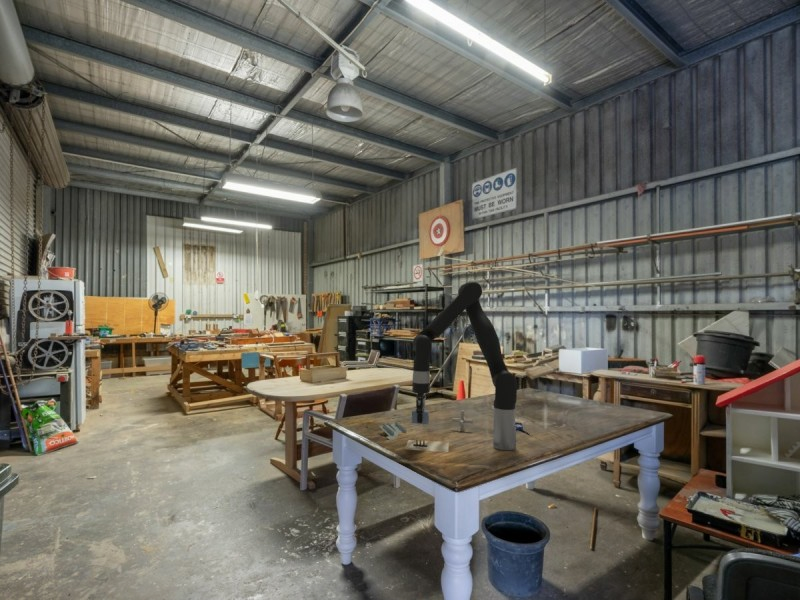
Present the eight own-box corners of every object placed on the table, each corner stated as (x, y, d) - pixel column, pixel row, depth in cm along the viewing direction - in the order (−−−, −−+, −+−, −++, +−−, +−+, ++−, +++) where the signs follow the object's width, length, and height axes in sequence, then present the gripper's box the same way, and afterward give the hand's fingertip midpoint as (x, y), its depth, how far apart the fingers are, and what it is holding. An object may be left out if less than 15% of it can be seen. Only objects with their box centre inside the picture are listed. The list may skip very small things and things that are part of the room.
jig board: (448, 445, 176) (449, 436, 176) (448, 455, 163) (448, 445, 163) (408, 442, 179) (408, 434, 179) (404, 452, 166) (404, 443, 166)
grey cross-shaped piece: (454, 427, 205) (454, 407, 205) (473, 429, 202) (473, 409, 202) (450, 432, 195) (450, 412, 196) (471, 434, 192) (471, 413, 192)
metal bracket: (375, 422, 191) (400, 418, 200) (373, 433, 192) (398, 428, 201) (391, 438, 180) (417, 432, 189) (389, 449, 181) (415, 443, 190)
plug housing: (428, 421, 173) (429, 410, 173) (427, 424, 168) (428, 412, 168) (412, 420, 174) (413, 409, 174) (411, 423, 169) (411, 411, 170)
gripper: (428, 384, 164) (427, 426, 163) (431, 379, 178) (430, 417, 177) (410, 383, 165) (409, 425, 165) (414, 378, 179) (413, 416, 179)
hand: (420, 421), depth 171 cm, fingers closed on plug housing, 4 cm apart
